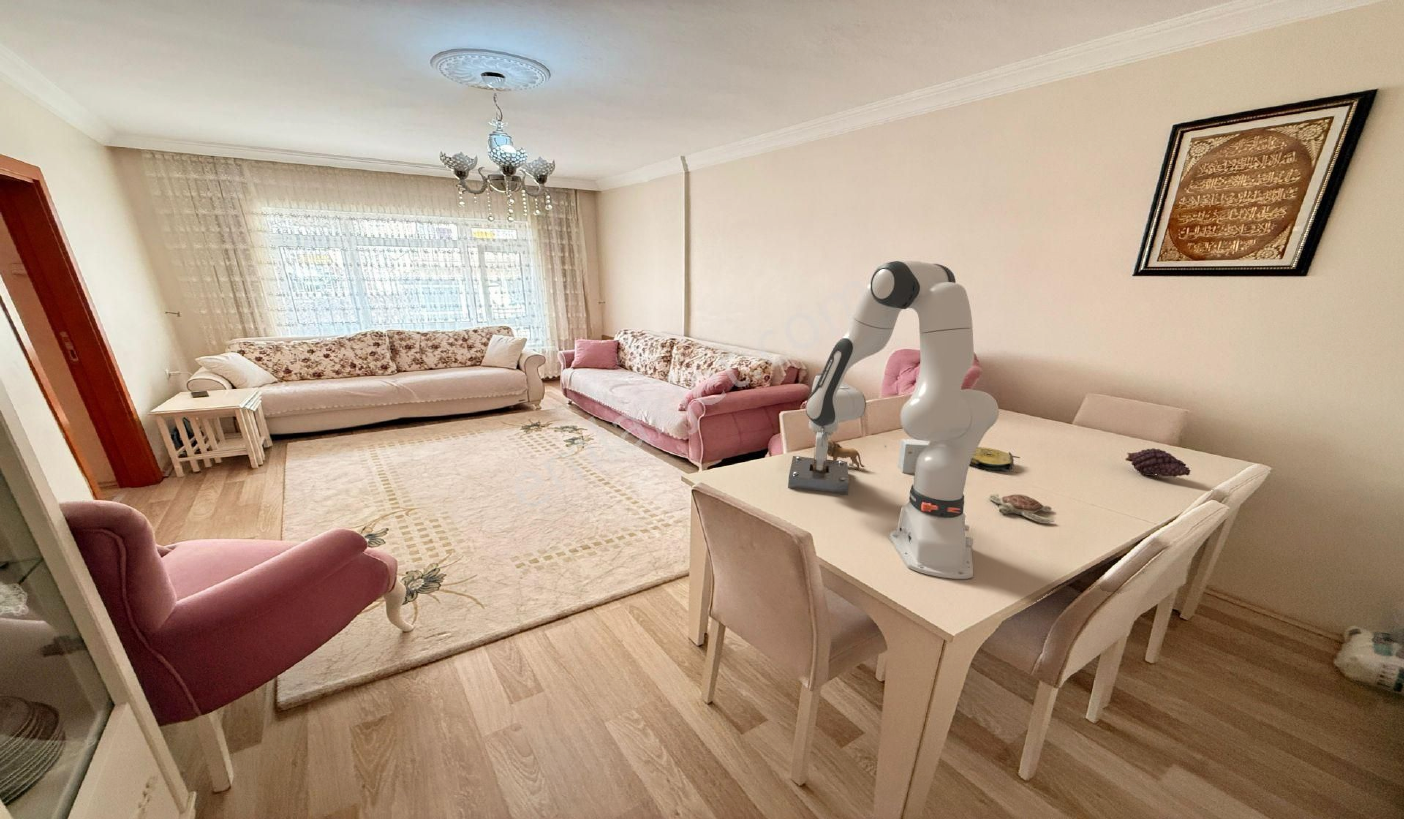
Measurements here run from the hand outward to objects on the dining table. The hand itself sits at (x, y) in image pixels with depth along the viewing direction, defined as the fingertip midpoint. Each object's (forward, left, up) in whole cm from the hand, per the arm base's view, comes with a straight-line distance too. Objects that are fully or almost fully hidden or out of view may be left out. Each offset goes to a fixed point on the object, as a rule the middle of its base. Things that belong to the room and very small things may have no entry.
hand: (819, 463), depth 159 cm
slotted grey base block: (0, 0, -6) cm, 6 cm away
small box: (+18, -31, -6) cm, 36 cm away
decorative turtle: (-5, -57, -6) cm, 58 cm away
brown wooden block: (0, 0, -6) cm, 6 cm away
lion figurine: (+15, -7, -6) cm, 18 cm away
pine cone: (+37, -111, -6) cm, 117 cm away
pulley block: (+34, -53, -6) cm, 63 cm away
